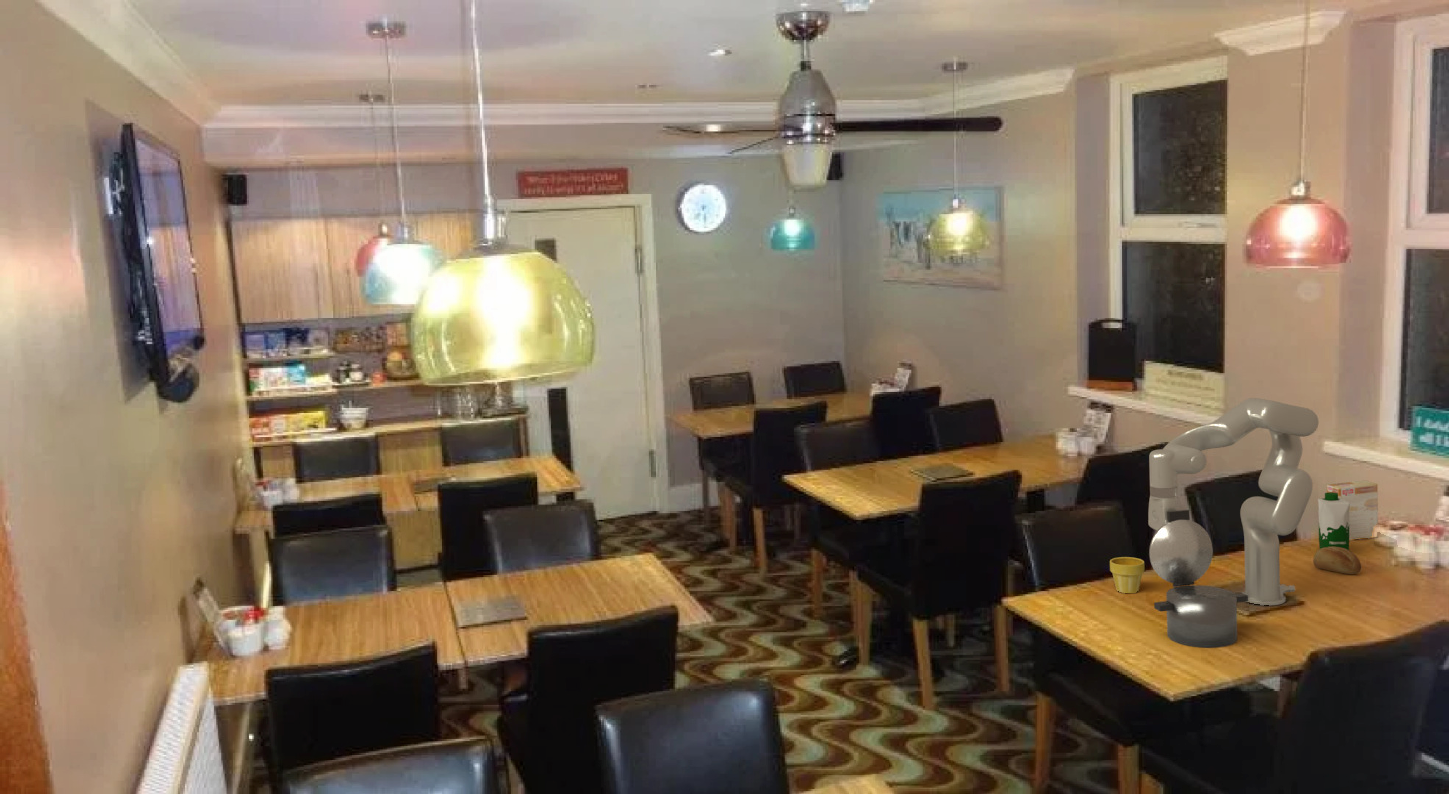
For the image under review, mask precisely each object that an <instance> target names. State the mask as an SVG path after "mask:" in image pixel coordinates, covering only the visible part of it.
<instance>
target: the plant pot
mask: <svg viewBox="0 0 1449 794" xmlns="http://www.w3.org/2000/svg"><path fill="white" fill-rule="evenodd" d="M1109 571H1110V572H1111V573H1112V576H1113V581H1114V585H1115V589H1116V591H1117V592H1118V591H1119V592H1118V593H1120V592H1122V593H1121V594H1125V593H1133V594H1136V593H1135V592H1137V591H1138V592H1139V590H1140V587H1141V586H1140V585H1141V580H1142V575H1143V574H1144V573H1145V561H1144V560H1143V559H1141V558H1137V557H1129V556H1121V557H1114V558H1112V559H1110V560H1109ZM1138 592H1137V593H1138Z"/></svg>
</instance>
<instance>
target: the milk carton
mask: <svg viewBox="0 0 1449 794" xmlns="http://www.w3.org/2000/svg"><path fill="white" fill-rule="evenodd" d="M1317 502H1318V503H1317V504H1318V544H1319V550H1320V549H1321V548H1324V547H1326V548H1327V547H1340V548H1345V549H1347V550H1349V551H1350V541H1349V509H1350V503H1348V502H1347V501H1346V500H1344V499H1342V498H1338V493H1333V492H1328V493H1327V492H1325V493H1324V498H1317Z"/></svg>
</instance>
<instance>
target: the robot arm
mask: <svg viewBox="0 0 1449 794" xmlns="http://www.w3.org/2000/svg"><path fill="white" fill-rule="evenodd" d="M1318 427H1319V417H1318V415H1317V413H1315V411H1314V410H1312V409H1310V408H1308V407H1301V406H1297V405H1292V404H1288V403H1284V402H1280V401H1275V400H1271V399H1263V398H1256V397H1252V398H1245V400H1243V401H1241V402H1240V403H1238V404H1237V405H1235V406H1234V407H1232V408H1231V409H1230V410H1229V411H1227V412H1225V413H1224V414H1223V415H1221V416H1220V417H1218V418H1217V419H1215V420H1214V421H1212V422H1209V423H1206V424H1202V425H1201V426H1198V427H1195V428H1193V429H1189V430H1188V431H1185V432H1183V433H1182V434H1179V435H1178V436H1177V437H1175V438H1174V439H1172V440H1171V441H1169V442H1168V443H1167V444H1166V445H1165V446H1164V447H1163V448H1162V449H1160V448H1159V449H1155V450H1152V451H1151V452H1150V453H1149V457H1148V458H1149V461H1148V463H1149V466H1148V467H1149V502H1148V514H1147V515H1148V520H1147V521H1148V526H1149V527H1150V528H1151V529H1153V530H1154V531H1155V532H1157V530H1158V529H1159V528H1160V527H1161V526H1163V525H1164V524H1166V523H1167V522H1168V521H1167V512H1168V511H1177V510H1179V505H1178V499H1177V498H1178V495H1179V494H1178V491H1179V490H1178V475H1179V474H1181V475H1183V474H1184V475H1193V474H1198V473H1200V472H1202V471H1203V470H1204V469H1205V468H1206V465H1207V463H1208V462H1207V457H1206V455H1205V453H1203V451H1205V450H1210V449H1221V448H1226V447H1229V446H1233V445H1234V444H1236V443H1238V441H1240V440H1241V439H1243V438H1244V437H1246V436H1247V435H1249V434H1250V433H1251V432H1253V431H1254V430H1256V429H1258V428H1260V429H1264V430H1265V429H1266V430H1268V431H1269V433H1270V437H1271V448H1270V451H1269V454H1268V455H1267V458H1266V460H1265V462H1264V465H1263V468H1262V471H1261V473H1260V474H1259V475H1260V476H1259V478H1258V487H1259V489H1260V490H1261V491H1262V492H1264V493H1265V494H1268V495H1271V496H1273V497H1277V499H1276V500H1275V499H1271V498H1268V497H1264V496H1251V497H1249V498H1247V499H1246V500H1244V501H1243V503H1242V504H1241V508H1240V510H1239V511H1240V512H1239V514H1240V515H1239V516H1240V519H1241V524H1242V529H1243V530H1242V531H1243V536H1244V537H1243V538H1244V540H1243V541H1244V586H1245V587H1244V591H1242V592H1241V593H1243V594H1246V595H1248V601H1246V602H1250V603H1254V604H1260V605H1259V606H1264V605H1269V606H1270V607H1271V606H1279V605H1282V604H1284V603H1285V602H1286V601H1287V598H1286V596H1285V595H1284V594H1286V593H1291V592H1292V593H1294V592H1295V591H1296V587H1295V585H1294V584H1292V585H1286V584H1283V583H1282V584H1281V581H1280V580H1281V578H1280V577H1281V575H1280V573H1281V572H1280V571H1281V569H1280V540H1279V536H1288V535H1289V534H1290V535H1291V534H1292V533H1293V532H1294V531H1295V530H1296V529H1297V527H1298V526H1299V524H1300V522H1301V519H1302V517H1303V515H1304V513H1305V510H1306V508H1307V506H1308V503H1309V501H1310V498H1311V496H1312V493H1313V479H1312V477H1311V476H1310V474H1309V473H1308V472H1307V471H1305V470H1303V469H1302V468H1298V467H1299V465H1300V461H1301V459H1302V455H1303V443H1302V439H1301V438H1302V437H1310V436H1311V435H1313V434H1314V433H1315V432H1316V431H1317V428H1318ZM1246 602H1245V603H1246ZM1254 604H1253V605H1254Z"/></svg>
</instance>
